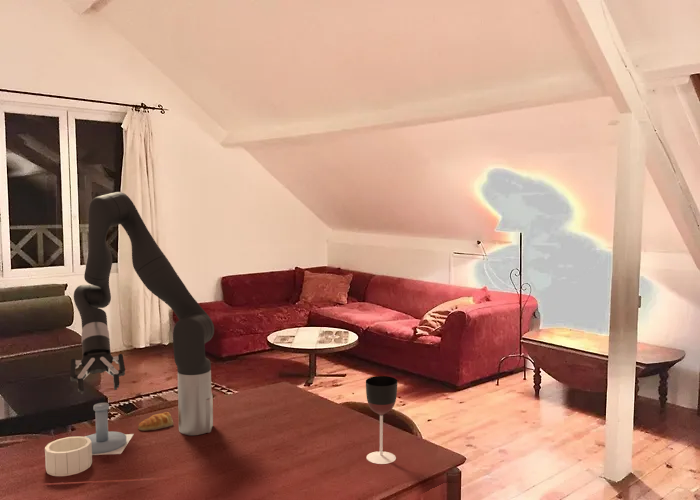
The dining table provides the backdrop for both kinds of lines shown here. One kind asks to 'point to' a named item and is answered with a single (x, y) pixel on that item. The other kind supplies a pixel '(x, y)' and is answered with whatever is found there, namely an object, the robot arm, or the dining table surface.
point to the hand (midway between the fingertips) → (99, 390)
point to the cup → (68, 456)
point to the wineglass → (381, 410)
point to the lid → (105, 432)
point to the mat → (120, 450)
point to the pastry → (156, 422)
